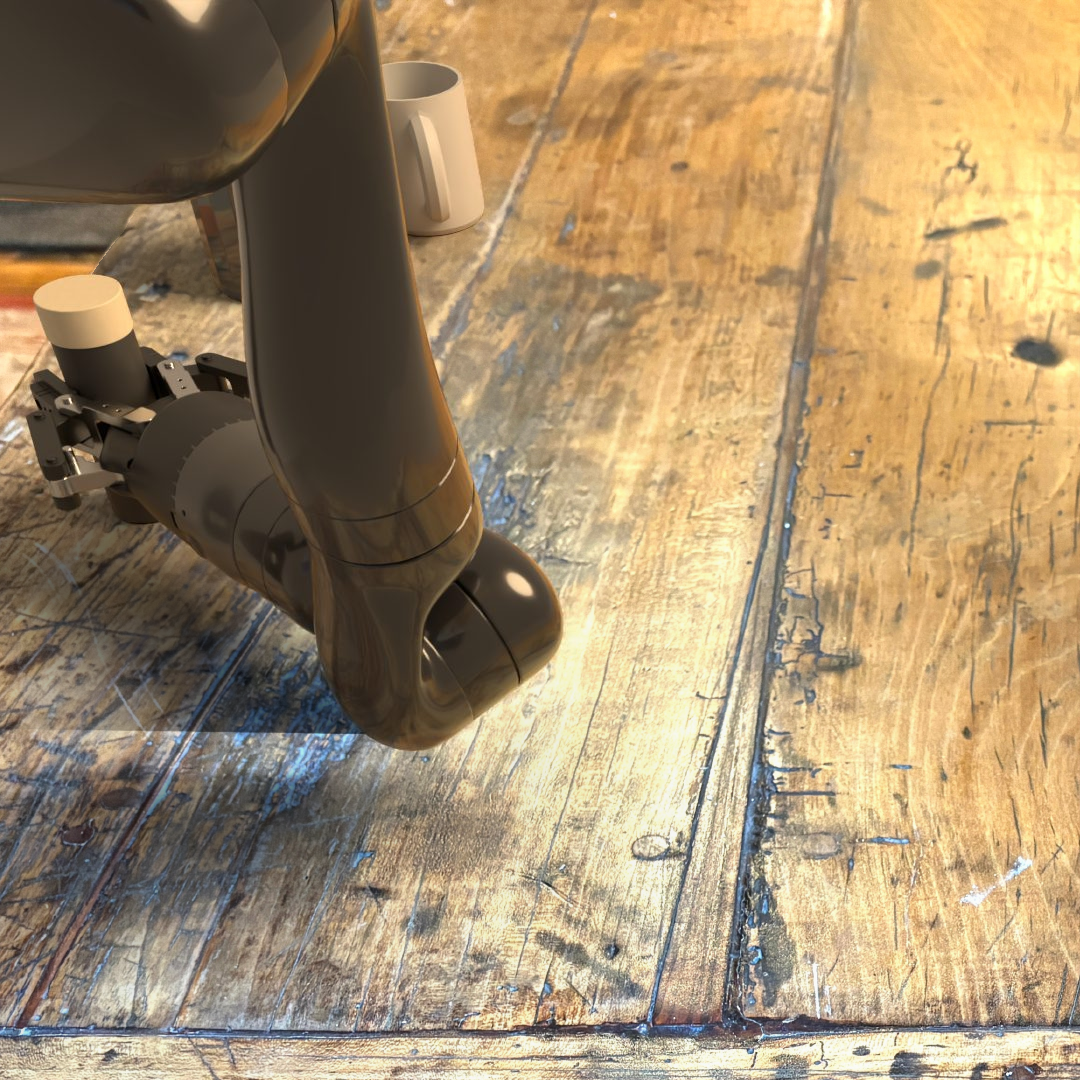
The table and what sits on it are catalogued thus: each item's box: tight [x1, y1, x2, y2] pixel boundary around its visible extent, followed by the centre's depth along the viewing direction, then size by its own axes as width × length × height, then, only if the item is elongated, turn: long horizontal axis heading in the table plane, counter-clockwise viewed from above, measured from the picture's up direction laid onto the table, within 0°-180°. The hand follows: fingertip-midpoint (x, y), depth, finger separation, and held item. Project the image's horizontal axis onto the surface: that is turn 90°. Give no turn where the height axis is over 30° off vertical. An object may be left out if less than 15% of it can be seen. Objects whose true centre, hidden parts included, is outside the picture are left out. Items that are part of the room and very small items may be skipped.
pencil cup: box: [189, 184, 242, 302], centre depth 116 cm, size 10×10×10 cm
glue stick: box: [32, 274, 159, 524], centre depth 95 cm, size 4×4×12 cm
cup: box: [382, 60, 486, 237], centre depth 122 cm, size 7×10×9 cm
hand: (87, 374), depth 96 cm, fingers closed on glue stick, 4 cm apart
